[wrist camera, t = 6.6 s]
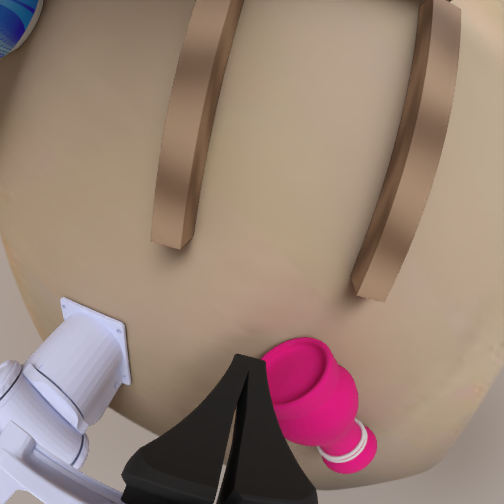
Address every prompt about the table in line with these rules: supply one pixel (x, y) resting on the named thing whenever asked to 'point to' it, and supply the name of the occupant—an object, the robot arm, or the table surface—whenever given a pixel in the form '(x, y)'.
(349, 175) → the table surface
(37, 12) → the beer can
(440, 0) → the u rest
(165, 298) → the table surface
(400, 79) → the table surface
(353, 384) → the pepper mill
